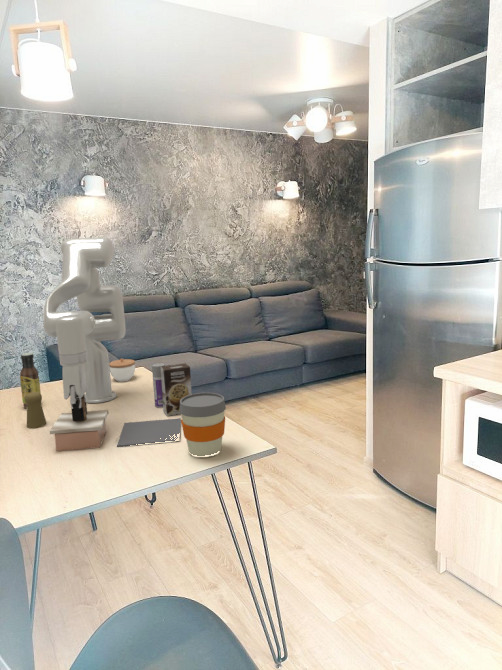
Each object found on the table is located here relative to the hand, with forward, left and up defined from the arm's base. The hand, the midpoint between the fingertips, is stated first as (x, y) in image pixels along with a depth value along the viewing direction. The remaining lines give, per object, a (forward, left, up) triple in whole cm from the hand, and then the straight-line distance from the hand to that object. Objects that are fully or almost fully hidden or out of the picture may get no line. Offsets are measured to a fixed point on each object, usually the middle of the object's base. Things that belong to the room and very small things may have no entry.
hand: (80, 417), depth 145 cm
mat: (-2, +20, -7) cm, 21 cm away
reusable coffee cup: (+15, +36, -8) cm, 40 cm away
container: (-27, +22, -8) cm, 35 cm away
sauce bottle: (-37, -25, -8) cm, 45 cm away
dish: (0, 0, -7) cm, 7 cm away
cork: (-17, -18, -8) cm, 26 cm away
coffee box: (-19, +28, -8) cm, 34 cm away
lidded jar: (-65, +4, -8) cm, 65 cm away
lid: (0, 0, -2) cm, 2 cm away
